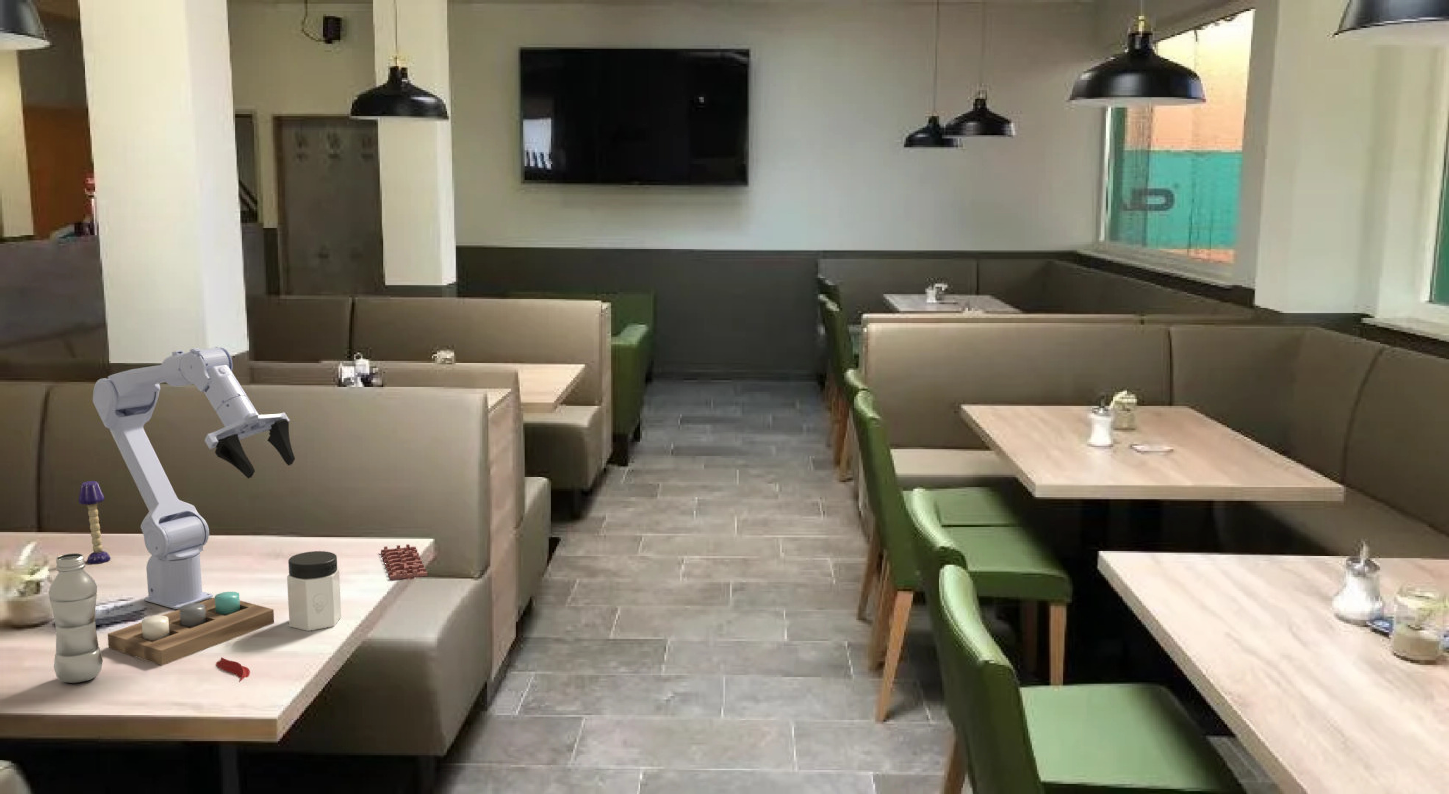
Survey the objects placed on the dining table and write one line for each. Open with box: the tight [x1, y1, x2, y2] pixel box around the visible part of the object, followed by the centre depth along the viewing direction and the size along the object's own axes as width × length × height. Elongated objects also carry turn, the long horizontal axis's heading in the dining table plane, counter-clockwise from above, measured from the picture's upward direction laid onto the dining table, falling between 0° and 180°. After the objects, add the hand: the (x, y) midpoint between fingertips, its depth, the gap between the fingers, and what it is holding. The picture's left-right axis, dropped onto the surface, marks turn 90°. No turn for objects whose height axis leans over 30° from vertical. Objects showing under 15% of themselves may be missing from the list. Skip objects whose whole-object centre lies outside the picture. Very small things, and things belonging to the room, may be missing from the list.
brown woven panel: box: [380, 543, 428, 581], centre depth 238 cm, size 7×19×2 cm, turn 22°
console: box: [107, 597, 275, 666], centre depth 199 cm, size 14×22×2 cm, turn 151°
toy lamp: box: [78, 480, 111, 565], centre depth 236 cm, size 5×5×17 cm
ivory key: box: [141, 615, 169, 641], centre depth 193 cm, size 4×4×3 cm
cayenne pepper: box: [216, 656, 251, 683], centre depth 185 cm, size 12×5×2 cm, turn 27°
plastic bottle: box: [48, 552, 104, 684], centre depth 179 cm, size 6×7×20 cm
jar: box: [286, 550, 342, 632], centre depth 205 cm, size 9×8×12 cm
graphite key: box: [178, 602, 206, 627], centre depth 199 cm, size 4×4×3 cm
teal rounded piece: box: [214, 591, 241, 615], centre depth 205 cm, size 4×4×3 cm
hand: (271, 468), depth 198 cm, fingers open, 7 cm apart
